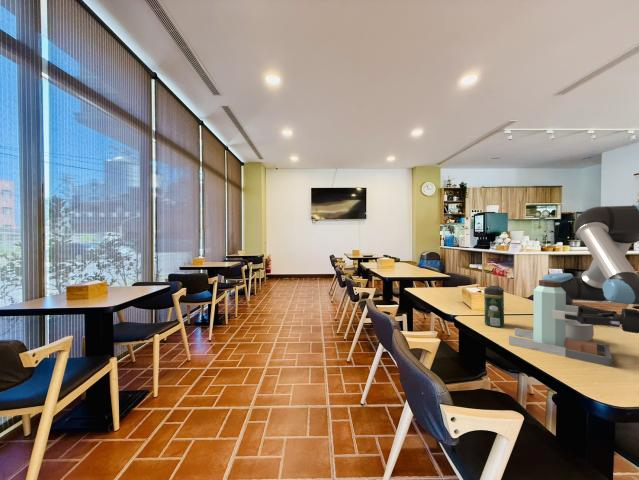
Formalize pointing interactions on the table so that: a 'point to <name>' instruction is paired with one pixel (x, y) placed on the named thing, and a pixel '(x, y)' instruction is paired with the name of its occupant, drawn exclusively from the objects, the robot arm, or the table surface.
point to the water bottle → (549, 313)
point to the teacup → (579, 331)
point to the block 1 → (573, 345)
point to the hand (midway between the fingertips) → (553, 310)
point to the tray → (592, 355)
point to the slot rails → (534, 343)
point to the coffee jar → (494, 306)
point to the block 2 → (588, 347)
